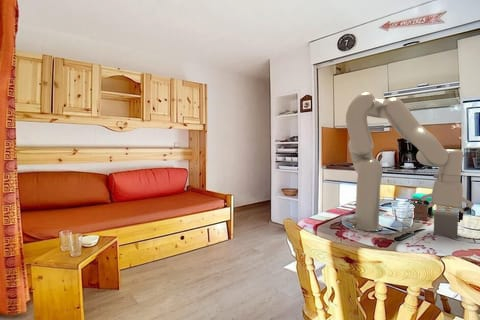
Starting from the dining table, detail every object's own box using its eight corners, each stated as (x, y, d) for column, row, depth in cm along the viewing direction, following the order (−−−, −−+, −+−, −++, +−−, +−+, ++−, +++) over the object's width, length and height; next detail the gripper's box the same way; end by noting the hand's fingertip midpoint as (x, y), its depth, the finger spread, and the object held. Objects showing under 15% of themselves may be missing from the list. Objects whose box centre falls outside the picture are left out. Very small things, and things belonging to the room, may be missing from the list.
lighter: (427, 218, 134) (428, 199, 133) (427, 220, 131) (428, 200, 130) (408, 216, 138) (409, 197, 138) (408, 217, 136) (409, 198, 135)
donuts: (414, 195, 143) (410, 192, 152) (413, 213, 143) (410, 209, 153) (436, 197, 139) (432, 193, 148) (435, 215, 139) (430, 211, 148)
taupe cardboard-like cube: (457, 238, 107) (457, 216, 106) (433, 234, 111) (434, 213, 111) (457, 233, 112) (458, 212, 112) (435, 229, 117) (435, 209, 117)
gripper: (422, 177, 113) (418, 216, 114) (476, 182, 102) (471, 226, 103) (424, 175, 119) (420, 212, 120) (475, 180, 108) (471, 221, 109)
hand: (444, 218), depth 112 cm, fingers open, 9 cm apart
